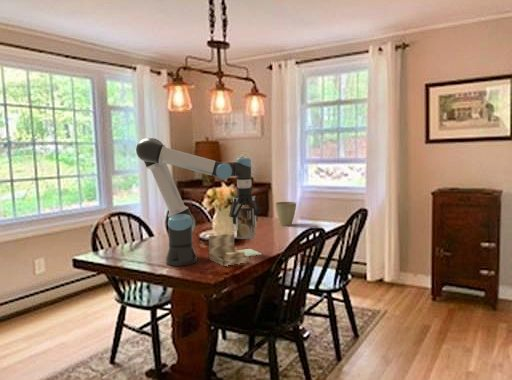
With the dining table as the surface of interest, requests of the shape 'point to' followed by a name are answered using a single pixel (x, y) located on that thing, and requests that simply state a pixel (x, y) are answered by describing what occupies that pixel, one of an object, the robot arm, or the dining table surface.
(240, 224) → the coffee box
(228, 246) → the rack
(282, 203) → the plant pot
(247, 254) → the felt mat
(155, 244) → the dining table surface
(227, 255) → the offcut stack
